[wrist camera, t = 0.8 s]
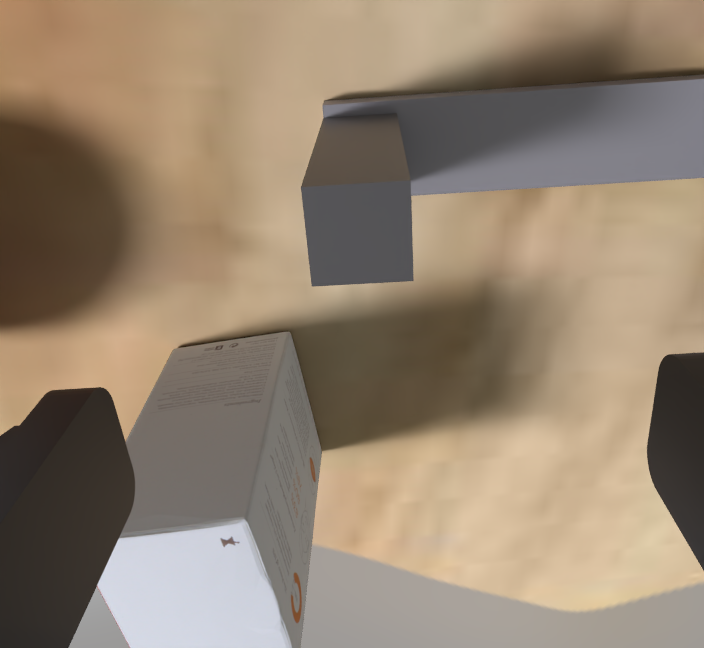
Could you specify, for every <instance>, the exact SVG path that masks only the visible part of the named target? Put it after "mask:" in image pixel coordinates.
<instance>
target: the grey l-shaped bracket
mask: <svg viewBox="0 0 704 648" xmlns="http://www.w3.org/2000/svg"><path fill="white" fill-rule="evenodd" d="M323 116H324V118H323V121H322V124H321V128H320V131H319V134H318V137H317V140H316V143H315V146H314V149H313V152H312V155H311V158H310V161H309V164H308V167H307V171H306V174H305V177H304V180H303V183H302V186H301V191H302V200H303V209H304V218H305V228H306V237H307V246H308V255H309V264H310V274H311V283H312V286H328V285H347V284H365V283H384V282H402V281H413V247H412V211H411V196H413V195H429V194H446V193H462V192H478V191H495V190H511V189H527V188H544V187H560V186H576V185H593V184H609V183H625V182H642V181H658V180H675V179H691V178H704V74H702V75H688V76H674V77H659V78H645V79H630V80H616V81H602V82H587V83H573V84H558V85H544V86H529V87H515V88H501V89H486V90H472V91H457V92H443V93H429V94H414V95H400V96H385V97H371V98H356V99H342V100H328V101H324V103H323Z"/></svg>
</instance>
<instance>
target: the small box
mask: <svg viewBox="0 0 704 648" xmlns="http://www.w3.org/2000/svg"><path fill="white" fill-rule="evenodd" d="M125 443H126V446H127V450H128V453H129V456H130V460H131V463H132V466H133V470H134V476H135V497H134V503H133V507H132V510H131V513H130V515H129V517H128V520H127V522H126V524H125V526H124V528H123V530H122V533H121V535H120V537H119V539H118V541H117V543H116V546H115V548H114V550H113V552H112V554H111V556H110V559H109V561H108V563H107V565H106V567H105V569H104V572H103V574H102V576H101V578H100V580H99V582H98V584H97V588H98V590H99V591H100V593H101V595H102V597H103V598H104V600H105V602H106V604H107V606H108V608H109V610H110V612H111V613H112V615H113V617H114V619H115V621H116V623H117V625H118V627H119V628H120V630H121V632H122V634H123V636H124V638H125V640H126V642H127V643H128V645H129V647H130V648H300V646H301V638H302V629H303V621H304V610H305V601H306V592H307V582H308V574H309V564H310V556H311V547H312V538H313V528H314V517H315V508H316V498H317V490H318V481H319V472H320V463H321V455H322V450H321V446H320V442H319V438H318V434H317V430H316V426H315V422H314V418H313V414H312V410H311V406H310V403H309V399H308V395H307V391H306V388H305V384H304V380H303V376H302V372H301V368H300V365H299V361H298V357H297V354H296V350H295V346H294V343H293V339H292V335H291V333H290V332H280V333H273V334H267V335H260V336H253V337H247V338H240V339H234V340H227V341H221V342H214V343H208V344H202V345H196V346H189V347H182V348H176V349H174V350H173V351H172V352H171V354H170V356H169V358H168V360H167V362H166V364H165V366H164V368H163V370H162V372H161V374H160V376H159V378H158V380H157V382H156V384H155V386H154V388H153V389H152V391H151V393H150V395H149V397H148V399H147V401H146V403H145V405H144V407H143V409H142V411H141V413H140V415H139V417H138V419H137V420H136V422H135V424H134V427H133V428H132V430H131V432H130V434H129V436H128V438H127V440H126V442H125Z"/></svg>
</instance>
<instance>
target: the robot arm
mask: <svg viewBox="0 0 704 648" xmlns="http://www.w3.org/2000/svg"><path fill="white" fill-rule="evenodd" d="M647 458H648V465H649V471H650V475H651V478H652V481H653V484H654V486H655V488H656V490H657V492H658V493H659V495H660V497H661V499H662V500H663V502H664V504H665V505H666V507H667V509H668V510H669V512H670V514H671V516H672V517H673V519H674V521H675V522H676V524H677V526H678V527H679V529H680V531H681V533H682V534H683V536H684V538H685V539H686V541H687V543H688V544H689V546H690V548H691V550H692V551H693V553H694V555H695V556H696V558H697V560H698V562H699V563H700V565H701V567H702V568H703V570H704V352H703V353H687V354H670V355H667V356H665V357H664V358H663V360H662V361H661V364H660V367H659V371H658V377H657V384H656V391H655V397H654V404H653V411H652V417H651V424H650V431H649V437H648V445H647ZM134 497H135V476H134V470H133V466H132V463H131V460H130V456H129V453H128V450H127V446H126V443H125V439H124V436H123V433H122V429H121V426H120V423H119V419H118V416H117V412H116V409H115V406H114V402H113V400H112V397H111V395H110V394H109V392H108V391H107V390H106V389H104V388H101V387H98V388H82V389H65V390H52V391H49V392H48V393H46V394H45V395H44V397H43V398H42V399H41V400H40V401H39V403H38V404H37V405H36V406H35V408H34V409H33V410H32V411H31V412H30V414H29V415H28V416H27V417H26V419H25V420H24V421H23V422H22V423H21V425H20V426H14V427H12V428H11V429H10V430H8V431H7V432H5V433H4V434H2V435H1V436H0V648H68V647H69V645H70V643H71V640H72V639H73V636H74V634H75V632H76V630H77V628H78V626H79V623H80V621H81V619H82V617H83V615H84V612H85V610H86V608H87V606H88V604H89V602H90V600H91V597H92V595H93V593H94V591H95V589H96V587H97V584H98V582H99V580H100V578H101V576H102V574H103V572H104V569H105V567H106V565H107V563H108V561H109V559H110V556H111V554H112V552H113V550H114V548H115V546H116V543H117V541H118V539H119V537H120V535H121V533H122V530H123V528H124V526H125V524H126V522H127V520H128V517H129V515H130V513H131V510H132V507H133V503H134Z"/></svg>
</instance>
